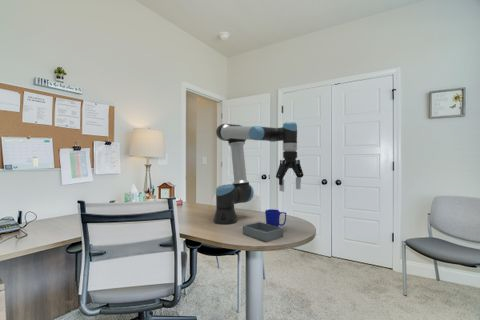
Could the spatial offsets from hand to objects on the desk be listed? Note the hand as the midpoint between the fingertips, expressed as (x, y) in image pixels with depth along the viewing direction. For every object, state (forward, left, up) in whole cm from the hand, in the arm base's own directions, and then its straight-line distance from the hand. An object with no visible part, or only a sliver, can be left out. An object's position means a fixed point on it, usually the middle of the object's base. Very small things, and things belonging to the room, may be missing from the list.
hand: (290, 190), depth 134 cm
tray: (-6, -16, -23) cm, 28 cm away
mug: (-11, 0, -23) cm, 26 cm away
